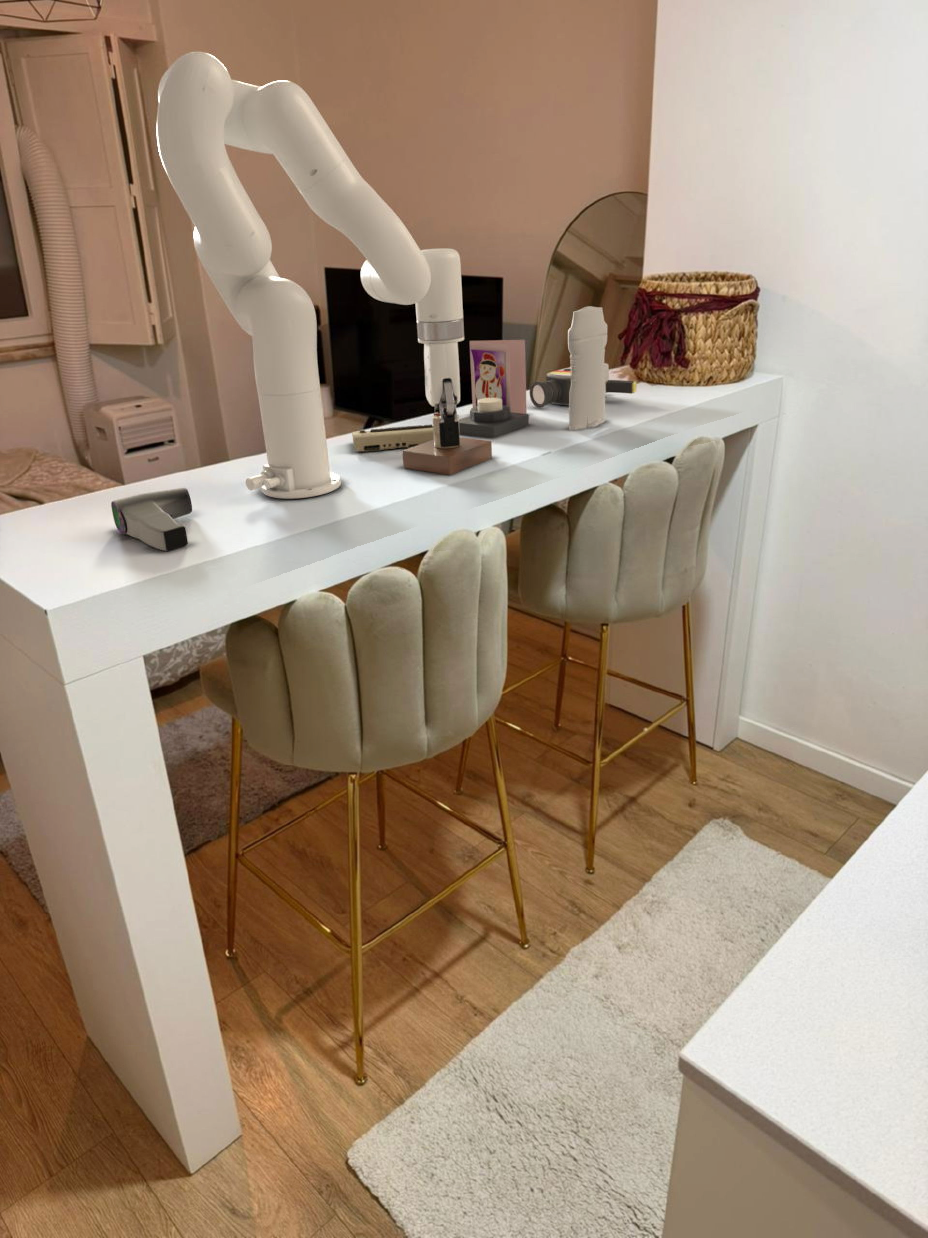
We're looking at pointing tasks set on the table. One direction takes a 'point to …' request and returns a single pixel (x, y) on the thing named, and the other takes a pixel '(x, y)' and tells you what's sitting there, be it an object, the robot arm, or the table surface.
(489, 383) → the greeting card
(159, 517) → the infrared thermometer
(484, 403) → the power button
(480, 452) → the brown flat block
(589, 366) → the tall pale column
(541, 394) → the film camera
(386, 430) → the computer
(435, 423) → the dial
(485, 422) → the grey square plinth
